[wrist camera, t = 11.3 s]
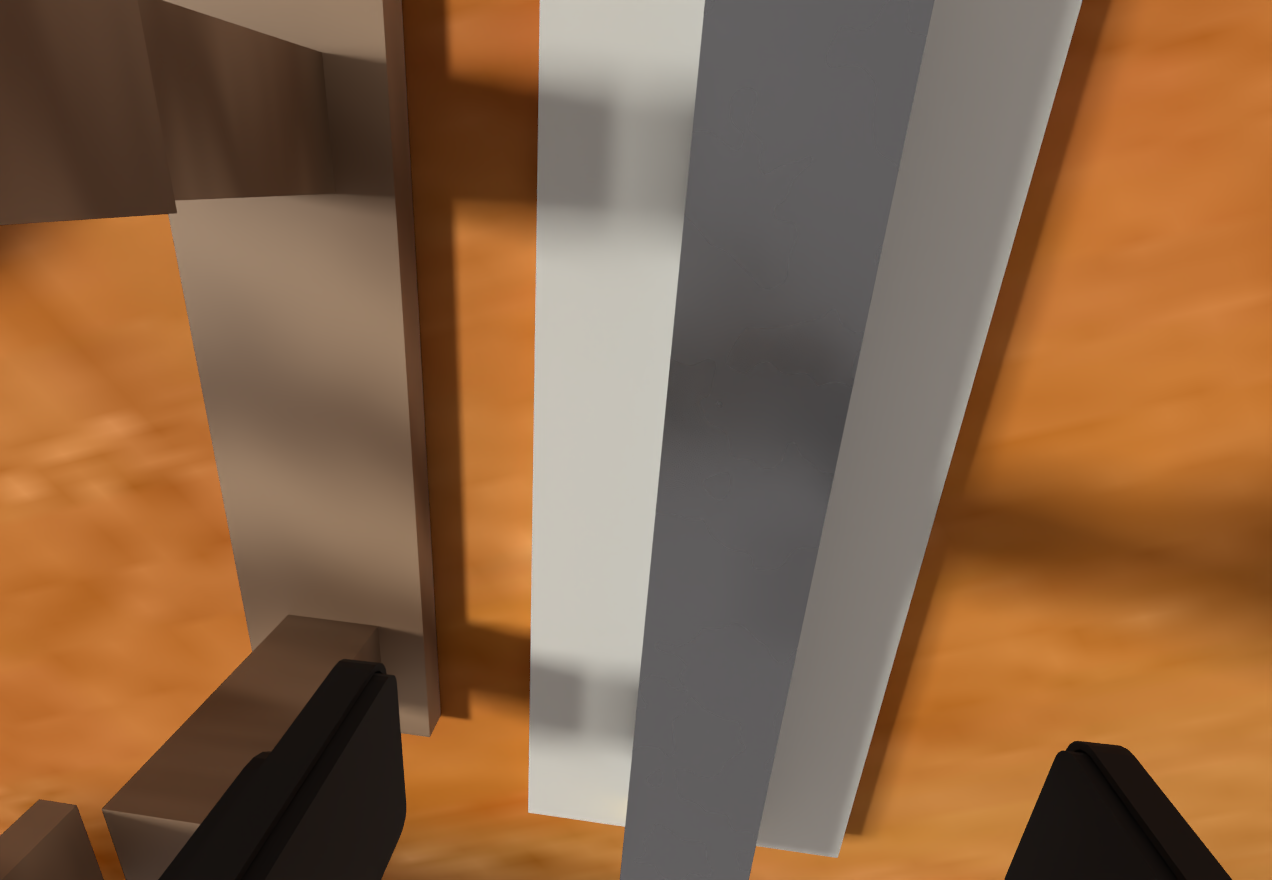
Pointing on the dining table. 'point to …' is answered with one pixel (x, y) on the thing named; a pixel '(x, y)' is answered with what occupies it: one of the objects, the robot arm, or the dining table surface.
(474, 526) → the dining table surface
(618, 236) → the mat
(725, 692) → the rail
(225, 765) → the rack
